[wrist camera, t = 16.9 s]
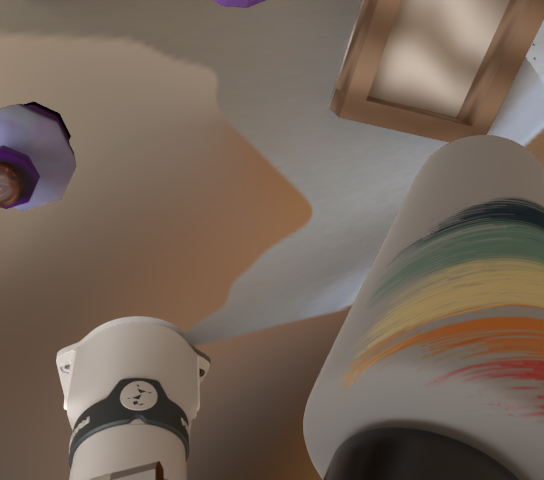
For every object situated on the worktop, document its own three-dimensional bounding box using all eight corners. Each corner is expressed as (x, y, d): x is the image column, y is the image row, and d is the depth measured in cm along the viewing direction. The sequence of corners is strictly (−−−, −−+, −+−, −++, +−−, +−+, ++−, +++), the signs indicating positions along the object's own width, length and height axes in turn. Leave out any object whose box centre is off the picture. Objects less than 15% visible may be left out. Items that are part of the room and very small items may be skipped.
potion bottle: (42, 194, 44) (7, 264, 34) (-41, 126, 40) (-110, 183, 30) (108, 139, 43) (91, 194, 33) (30, 62, 38) (-18, 98, 28)
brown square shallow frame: (460, 137, 50) (479, 149, 47) (327, 107, 45) (339, 117, 42) (537, -26, 43) (565, -25, 40) (388, -83, 38) (407, -87, 35)
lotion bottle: (457, 265, 23) (335, 883, 7) (390, 176, 22) (100, 650, 7) (578, 211, 20) (823, 1158, 4) (503, 104, 19) (441, 735, 3)
